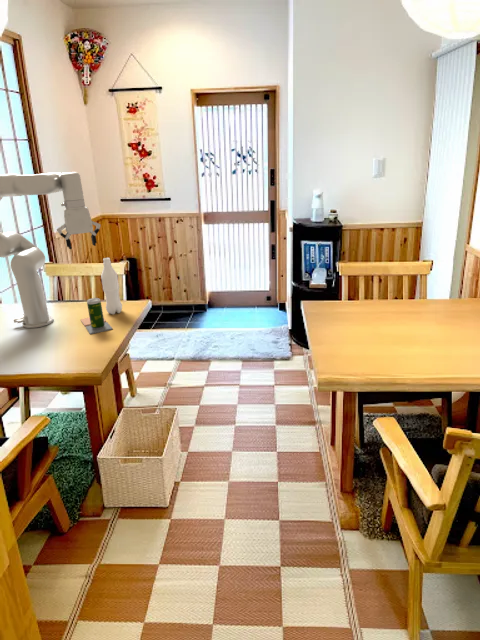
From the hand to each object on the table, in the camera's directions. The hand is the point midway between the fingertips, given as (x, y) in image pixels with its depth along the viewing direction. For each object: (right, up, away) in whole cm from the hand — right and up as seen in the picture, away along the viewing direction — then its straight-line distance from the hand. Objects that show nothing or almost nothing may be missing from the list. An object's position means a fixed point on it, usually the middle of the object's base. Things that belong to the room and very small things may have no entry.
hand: (82, 246), depth 191 cm
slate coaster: (+7, -34, +1) cm, 34 cm away
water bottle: (+8, -27, +20) cm, 34 cm away
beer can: (+6, -33, +1) cm, 34 cm away
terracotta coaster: (+1, -31, +10) cm, 32 cm away
